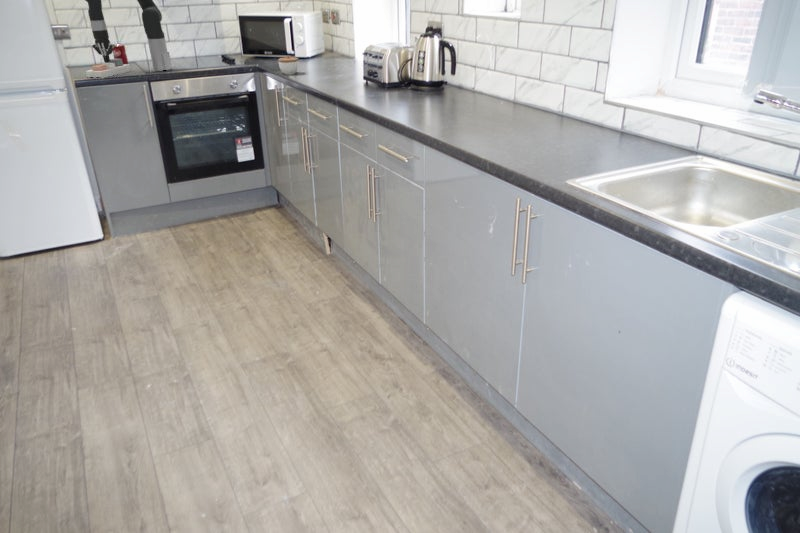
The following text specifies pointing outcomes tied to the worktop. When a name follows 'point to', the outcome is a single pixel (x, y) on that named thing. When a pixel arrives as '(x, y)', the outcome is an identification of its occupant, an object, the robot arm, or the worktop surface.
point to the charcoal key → (117, 62)
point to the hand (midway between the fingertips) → (107, 62)
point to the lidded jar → (288, 65)
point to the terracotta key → (99, 67)
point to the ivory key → (109, 65)
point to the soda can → (120, 53)
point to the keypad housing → (109, 71)
